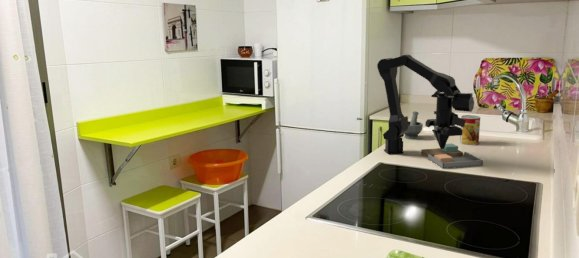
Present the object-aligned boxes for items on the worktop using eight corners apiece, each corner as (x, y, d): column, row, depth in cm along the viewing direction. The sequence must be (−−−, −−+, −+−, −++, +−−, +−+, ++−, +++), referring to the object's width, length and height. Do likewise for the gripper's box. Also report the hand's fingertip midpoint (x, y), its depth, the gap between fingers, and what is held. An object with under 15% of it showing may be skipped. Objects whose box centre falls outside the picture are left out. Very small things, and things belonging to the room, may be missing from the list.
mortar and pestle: (417, 141, 207) (418, 115, 204) (398, 138, 212) (398, 113, 209) (425, 135, 216) (426, 111, 213) (406, 133, 221) (406, 109, 218)
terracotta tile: (440, 163, 172) (440, 158, 171) (434, 159, 177) (434, 154, 176) (452, 162, 173) (452, 157, 172) (445, 158, 177) (445, 153, 177)
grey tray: (442, 168, 167) (442, 163, 166) (427, 159, 178) (428, 154, 178) (482, 165, 169) (482, 160, 169) (465, 156, 181) (465, 151, 180)
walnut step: (429, 159, 179) (430, 154, 178) (421, 153, 186) (421, 149, 186) (462, 156, 181) (462, 152, 180) (452, 151, 188) (452, 147, 188)
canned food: (480, 145, 197) (482, 118, 194) (461, 144, 198) (462, 118, 196) (476, 140, 204) (478, 115, 202) (458, 140, 206) (459, 114, 203)
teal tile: (446, 152, 181) (446, 147, 181) (440, 148, 186) (440, 144, 186) (457, 151, 182) (458, 146, 182) (451, 148, 187) (452, 143, 187)
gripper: (477, 112, 164) (474, 153, 168) (451, 104, 182) (449, 141, 186) (448, 114, 163) (446, 155, 166) (425, 105, 181) (424, 143, 184)
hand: (442, 148), depth 176 cm, fingers closed
